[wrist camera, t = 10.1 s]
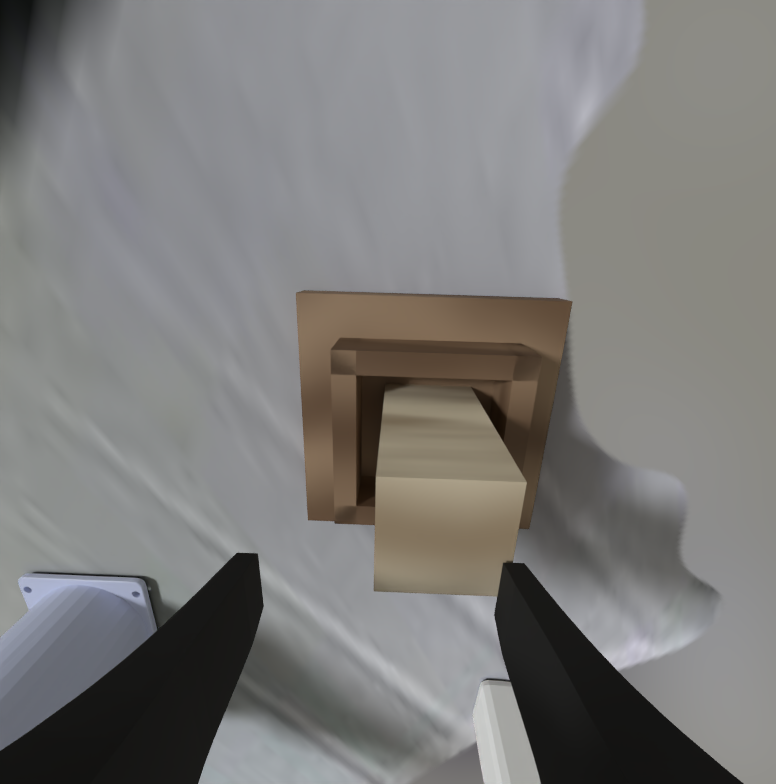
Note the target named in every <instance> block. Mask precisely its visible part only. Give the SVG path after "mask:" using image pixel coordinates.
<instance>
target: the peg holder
mask: <svg viewBox="0 0 776 784" xmlns="http://www.w3.org/2000/svg"><path fill="white" fill-rule="evenodd" d="M296 304H297V323H298V341H299V360H300V379H301V397H302V416H303V435H304V454H305V472H306V491H307V510H308V520H318V521H335V523H336V524H361V525H375V498H376V471H377V461H378V451H379V442H380V432H381V422H382V412H383V403H384V393H385V384H414V385H443V386H471V388H472V390H473V392H474V393H475V395H476V397H477V398H478V400H479V402H480V403H481V405H482V407H483V409H484V410H485V412H486V414H487V415H488V417H489V419H490V420H491V422H492V424H493V426H494V427H495V429H496V431H497V432H498V434H499V436H500V437H501V439H502V441H503V443H504V444H505V446H506V448H507V449H508V451H509V453H510V454H511V456H512V458H513V460H514V461H515V463H516V465H517V466H518V468H519V470H520V471H521V473H522V475H523V477H524V478H525V480H526V482H527V484H526V490H525V496H524V501H523V507H522V513H521V518H520V524H519V529H529V527H530V522H531V517H532V512H533V506H534V501H535V496H536V491H537V485H538V480H539V475H540V470H541V464H542V459H543V454H544V448H545V443H546V438H547V433H548V427H549V422H550V417H551V412H552V406H553V401H554V396H555V391H556V385H557V380H558V375H559V369H560V364H561V359H562V354H563V348H564V343H565V338H566V333H567V327H568V322H569V317H570V312H571V306H572V301H568V300H564V299H559V298H532V297H499V296H467V295H435V294H402V293H370V292H338V291H305V290H304V291H301V292H297V293H296Z"/></svg>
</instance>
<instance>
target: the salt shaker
mask: <svg viewBox="0 0 776 784" xmlns="http://www.w3.org/2000/svg"><path fill="white" fill-rule="evenodd" d="M473 722H474V728H475V734H476V740H477V746H478V752H479V757H480V764H481V770H482V776H483V782H484V784H541V782H540V778H539V774H538V771H537V767H536V764H535V760H534V756H533V753H532V750H531V746H530V743H529V740H528V737H527V733H526V730H525V727H524V724H523V721H522V717H521V714H520V711H519V708H518V704H517V701H516V698H515V695H514V692H513V688H512V685H511V682H506V681H494V680H486V681H483V682H481V683H480V687H479V691H478V695H477V699H476V703H475V706H474V711H473Z"/></svg>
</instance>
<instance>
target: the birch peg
mask: <svg viewBox="0 0 776 784" xmlns="http://www.w3.org/2000/svg"><path fill="white" fill-rule="evenodd" d="M526 484H527V482H526V480H525V478H524V477H523V475H522V473H521V471H520V470H519V468H518V466H517V465H516V463H515V461H514V460H513V458H512V456H511V454H510V453H509V451H508V449H507V448H506V446H505V444H504V443H503V441H502V439H501V437H500V436H499V434H498V432H497V431H496V429H495V427H494V426H493V424H492V422H491V420H490V419H489V417H488V415H487V414H486V412H485V410H484V409H483V407H482V405H481V403H480V402H479V400H478V398H477V397H476V395H475V393H474V392H473V390H472V388H471V386H443V385H414V384H385V393H384V403H383V412H382V422H381V432H380V442H379V451H378V461H377V471H376V498H375V552H374V591H380V592H404V593H427V594H451V595H475V596H498V590H499V584H500V578H501V572H502V566H503V563H513V558H514V552H515V547H516V541H517V535H518V530H519V524H520V518H521V513H522V507H523V501H524V496H525V490H526Z"/></svg>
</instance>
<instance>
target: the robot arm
mask: <svg viewBox="0 0 776 784" xmlns="http://www.w3.org/2000/svg"><path fill="white" fill-rule="evenodd" d="M18 584H19V586H20V589H21V591H22V594H23V596H24V599H25V601H26V604H27V606H28V609H29V611H28V612H27V613H26V614H25V615H24V616H23V617H22V618H20V619H19V620H18V621H17V622H16V623H15V624H14V625H13V626H12V627H11V628H10V629H9V630H8V631H7V632H6V633H5V634H4V635H2V636H1V637H0V784H198V782H199V779H200V776H201V773H202V770H203V767H204V764H205V761H206V758H207V756H208V753H209V750H210V748H211V745H212V742H213V740H214V737H215V735H216V732H217V730H218V728H219V725H220V723H221V720H222V718H223V715H224V713H225V711H226V708H227V706H228V703H229V701H230V698H231V696H232V694H233V691H234V689H235V686H236V684H237V681H238V679H239V677H240V674H241V672H242V669H243V667H244V664H245V662H246V659H247V657H248V654H249V652H250V649H251V647H252V644H253V641H254V638H255V634H256V631H257V628H258V624H259V621H260V617H261V614H262V610H263V607H264V605H263V596H262V587H261V578H260V569H259V560H258V554H256V553H236V554H235V555H234V556H233V557H232V558H231V559H230V560H229V561H228V562H227V563H226V564H225V565H224V566H223V567H222V568H221V569H220V570H219V571H218V572H217V573H216V574H215V575H214V576H213V577H212V578H211V579H210V580H209V581H208V582H207V583H206V584H205V585H204V586H203V587H202V588H201V589H200V590H199V591H198V592H197V593H196V594H195V595H194V596H193V597H192V598H191V599H190V600H189V601H188V602H187V603H186V604H185V605H184V606H183V607H182V608H181V609H180V610H179V611H178V612H177V613H176V614H174V615H173V616H172V617H171V618H170V619H169V620H168V621H167V622H166V623H165V624H164V625H163V626H161V627H160V628H159V629H158V630H157V627H156V623H155V619H154V615H153V611H152V607H151V603H150V599H149V595H148V590H147V586H146V583H145V581H144V580H142V579H140V578H128V577H104V576H81V575H57V574H34V573H27V574H24V575H23V576H22V577H20V578H19V580H18ZM494 616H495V621H496V626H497V631H498V636H499V641H500V646H501V651H502V655H503V659H504V662H505V665H506V669H507V672H508V675H509V678H510V682H511V685H512V688H513V692H514V695H515V698H516V701H517V704H518V708H519V711H520V714H521V717H522V721H523V724H524V727H525V730H526V733H527V737H528V740H529V743H530V746H531V750H532V753H533V756H534V760H535V764H536V767H537V771H538V774H539V778H540V782H541V784H743V783H742V782H741V781H740V780H738V779H737V778H736V777H734V776H733V775H732V774H731V773H730V772H729V771H727V770H726V769H725V768H723V767H722V766H721V765H720V764H719V763H718V762H717V761H715V760H714V759H713V758H712V757H711V756H710V755H708V754H707V753H706V752H704V751H703V749H701V748H700V747H699V746H698V745H697V744H696V743H694V742H693V741H692V740H691V739H690V738H688V737H687V736H686V735H685V734H684V733H682V732H681V731H680V730H679V729H678V728H677V727H676V726H675V725H674V724H672V723H671V722H670V721H669V720H668V719H667V718H666V717H664V716H663V715H662V714H661V713H660V712H659V711H658V710H657V709H656V708H655V707H654V706H653V705H652V704H651V703H650V702H649V701H648V700H647V699H646V698H645V697H643V696H642V695H641V694H640V693H639V692H638V691H637V690H636V689H635V688H634V687H633V686H632V685H631V684H630V683H629V682H628V681H627V680H626V679H625V678H624V677H623V676H622V675H621V674H620V673H619V672H618V671H617V670H616V669H615V668H614V667H613V666H612V665H611V664H610V663H609V661H608V660H607V659H606V658H605V657H604V656H603V655H602V654H601V653H600V652H599V651H598V650H597V649H596V648H595V647H594V645H593V644H592V643H591V642H590V641H589V640H588V639H587V638H586V637H585V635H584V634H583V633H582V632H581V631H580V630H579V629H578V627H577V626H576V625H575V624H574V623H573V622H572V621H571V619H570V618H569V617H568V616H567V615H566V614H565V612H564V611H563V610H562V609H561V608H560V607H559V605H558V604H557V603H556V602H555V601H554V599H553V598H552V597H551V596H550V594H549V593H548V592H547V591H546V590H545V588H544V587H543V586H542V585H541V583H540V582H539V581H538V580H537V578H536V577H535V576H534V575H533V573H532V572H531V571H530V570H529V569H528V567H527V566H526V565H525V564H524V563H503V566H502V572H501V578H500V584H499V590H498V596H497V602H496V608H495V614H494Z"/></svg>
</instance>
